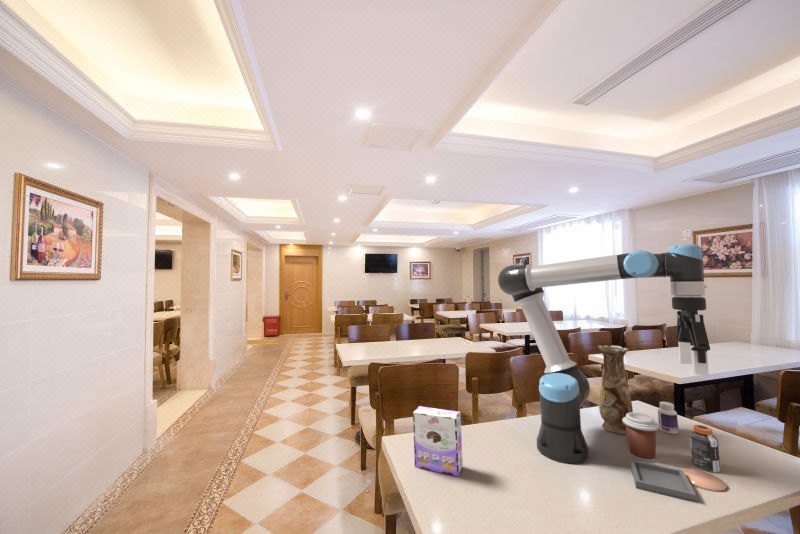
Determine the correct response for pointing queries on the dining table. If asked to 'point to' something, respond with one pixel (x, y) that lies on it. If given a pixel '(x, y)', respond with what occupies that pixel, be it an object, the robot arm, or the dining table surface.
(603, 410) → the vase
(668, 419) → the pill bottle
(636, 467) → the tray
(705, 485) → the peach flat disc
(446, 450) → the candy box
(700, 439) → the pill bottle
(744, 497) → the dining table surface
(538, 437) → the robot arm
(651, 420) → the coffee cup
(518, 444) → the dining table surface
